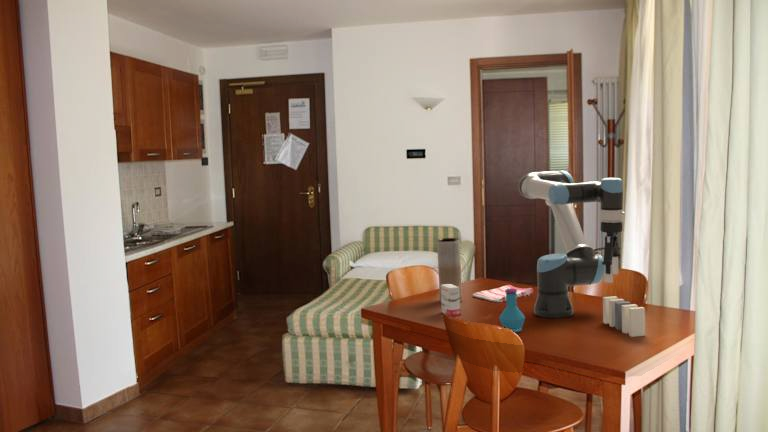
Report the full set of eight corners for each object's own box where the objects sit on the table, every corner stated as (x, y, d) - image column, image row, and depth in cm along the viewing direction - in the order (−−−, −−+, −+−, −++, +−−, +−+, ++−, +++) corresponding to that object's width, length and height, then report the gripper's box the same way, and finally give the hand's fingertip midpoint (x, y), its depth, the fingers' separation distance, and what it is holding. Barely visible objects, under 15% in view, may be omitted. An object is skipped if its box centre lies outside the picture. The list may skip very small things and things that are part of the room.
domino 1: (624, 325, 236) (624, 299, 235) (611, 326, 235) (611, 300, 234) (622, 324, 238) (621, 298, 237) (609, 325, 237) (608, 299, 236)
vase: (449, 298, 296) (446, 237, 293) (466, 300, 289) (464, 238, 286) (435, 302, 289) (432, 240, 286) (452, 305, 282) (449, 241, 279)
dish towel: (534, 295, 295) (534, 287, 294) (498, 304, 281) (498, 296, 281) (507, 290, 309) (506, 282, 308) (471, 298, 295) (471, 290, 295)
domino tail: (645, 335, 223) (644, 308, 222) (631, 336, 222) (631, 309, 221) (642, 334, 224) (641, 306, 223) (629, 335, 224) (628, 308, 223)
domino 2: (615, 328, 232) (614, 302, 232) (628, 327, 233) (627, 301, 232) (618, 330, 231) (617, 303, 230) (631, 328, 231) (630, 302, 231)
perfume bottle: (520, 334, 232) (518, 292, 231) (496, 331, 237) (494, 291, 236) (528, 327, 240) (527, 287, 239) (505, 325, 245) (503, 286, 244)
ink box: (461, 315, 264) (460, 286, 263) (450, 316, 262) (448, 288, 261) (452, 310, 272) (450, 283, 271) (441, 312, 270) (439, 284, 269)
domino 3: (638, 332, 227) (637, 305, 226) (624, 333, 226) (624, 306, 225) (635, 330, 229) (634, 304, 228) (622, 332, 228) (621, 305, 227)
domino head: (618, 322, 240) (617, 297, 239) (605, 323, 239) (605, 298, 239) (615, 321, 242) (615, 296, 241) (603, 322, 241) (602, 297, 240)
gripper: (617, 226, 222) (617, 286, 225) (627, 216, 244) (626, 271, 247) (594, 225, 226) (594, 285, 229) (606, 215, 248) (606, 270, 251)
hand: (611, 278), depth 238 cm, fingers open, 13 cm apart
